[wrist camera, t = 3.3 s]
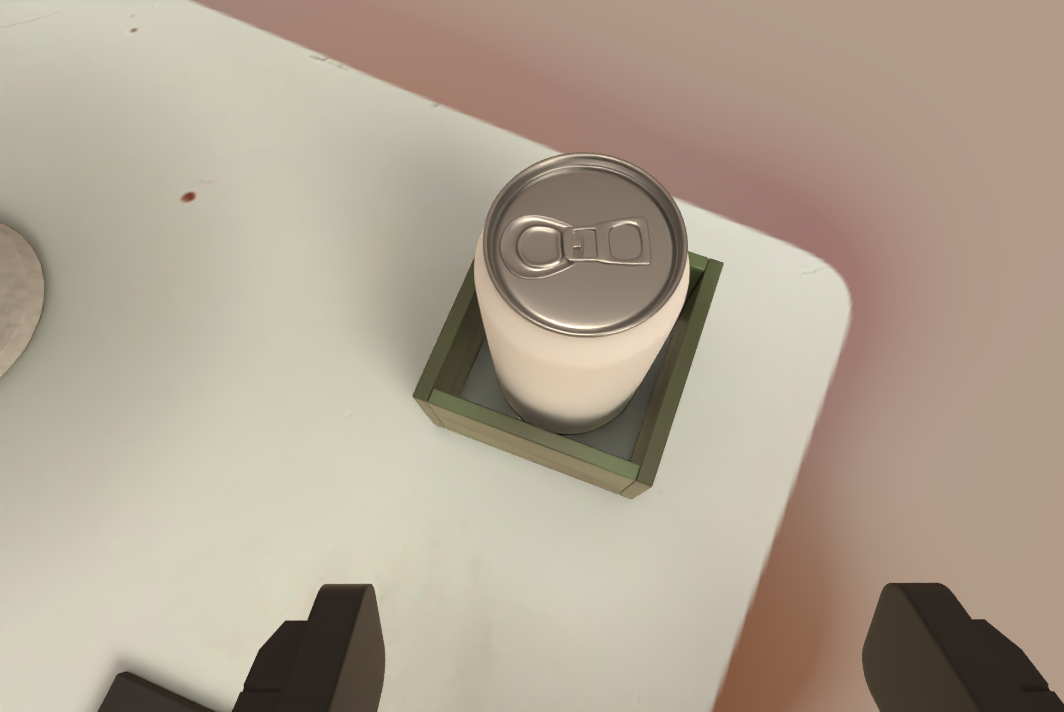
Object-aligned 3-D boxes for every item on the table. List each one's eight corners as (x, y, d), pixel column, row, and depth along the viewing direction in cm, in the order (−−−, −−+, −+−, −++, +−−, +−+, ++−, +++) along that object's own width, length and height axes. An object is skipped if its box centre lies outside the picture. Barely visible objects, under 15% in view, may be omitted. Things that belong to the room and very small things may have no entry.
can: (493, 302, 30) (464, 144, 18) (632, 295, 30) (689, 133, 18) (497, 440, 28) (468, 358, 17) (646, 432, 28) (719, 346, 17)
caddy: (694, 309, 30) (724, 262, 25) (632, 499, 27) (652, 487, 22) (509, 246, 31) (504, 189, 26) (433, 424, 28) (411, 396, 23)
